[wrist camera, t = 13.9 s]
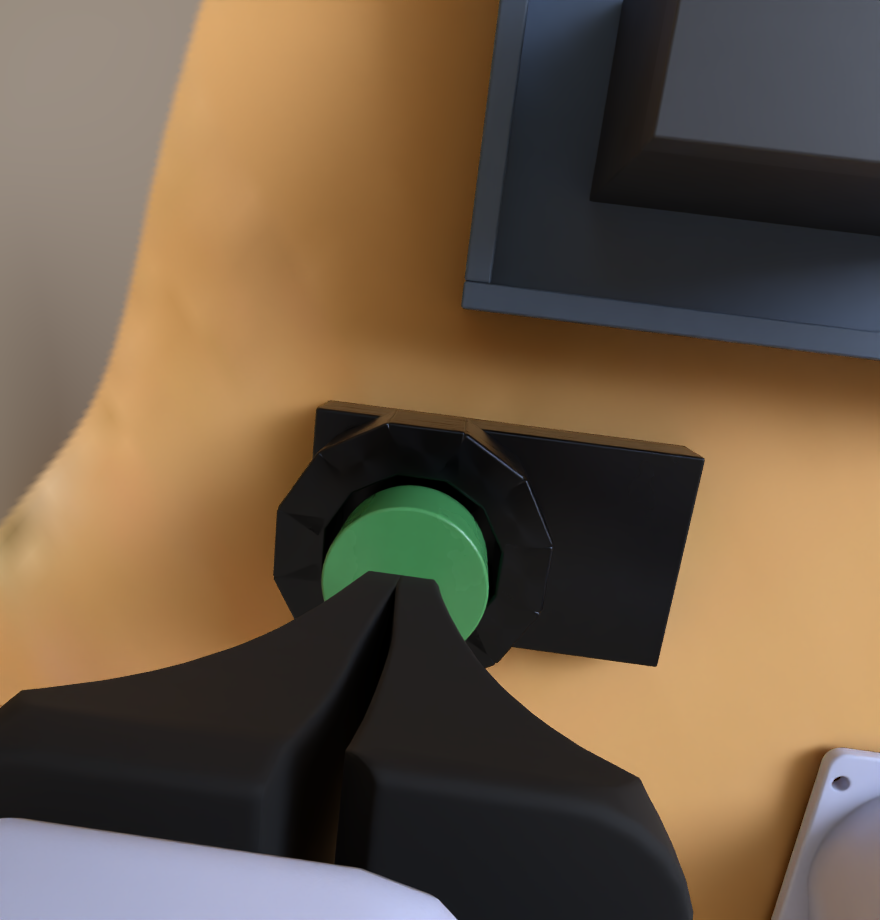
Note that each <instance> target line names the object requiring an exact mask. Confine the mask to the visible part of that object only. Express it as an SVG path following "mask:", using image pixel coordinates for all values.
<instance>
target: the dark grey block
mask: <svg viewBox="0 0 880 920" xmlns="http://www.w3.org/2000/svg"><path fill="white" fill-rule="evenodd" d="M590 201H592V202H600V203H609V204H617V205H625V206H633V207H642V208H650V209H658V210H667V211H675V212H683V213H692V214H700V215H708V216H716V217H725V218H733V219H741V220H750V221H758V222H766V223H774V224H783V225H791V226H799V227H808V228H816V229H824V230H832V231H841V232H849V233H857V234H866V235H874V236H880V0H623V3H622V9H621V15H620V21H619V27H618V33H617V39H616V45H615V51H614V57H613V63H612V69H611V75H610V80H609V86H608V92H607V98H606V104H605V110H604V116H603V122H602V128H601V134H600V140H599V146H598V152H597V158H596V164H595V169H594V175H593V181H592V187H591V193H590Z"/></svg>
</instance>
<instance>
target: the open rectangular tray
mask: <svg viewBox="0 0 880 920" xmlns="http://www.w3.org/2000/svg"><path fill="white" fill-rule="evenodd" d="M622 3H623V0H500V1H499V9H498V16H497V24H496V32H495V40H494V48H493V56H492V64H491V72H490V80H489V88H488V96H487V104H486V112H485V120H484V128H483V136H482V144H481V152H480V160H479V168H478V176H477V183H476V191H475V199H474V207H473V215H472V223H471V231H470V239H469V247H468V255H467V263H466V271H465V280H466V281H465V282H464V287H463V295H462V303H461V306H462V308H463V309H468V310H476V311H484V312H492V313H500V314H508V315H516V316H524V317H532V318H540V319H548V320H556V321H564V322H572V323H580V324H588V325H596V326H604V327H612V328H620V329H628V330H636V331H644V332H652V333H660V334H668V335H676V336H684V337H692V338H700V339H708V340H716V341H725V342H733V343H741V344H749V345H757V346H765V347H773V348H781V349H789V350H797V351H805V352H813V353H821V354H829V355H837V356H845V357H853V358H861V359H869V360H877V361H880V236H874V235H866V234H857V233H849V232H841V231H832V230H824V229H816V228H808V227H799V226H791V225H783V224H774V223H766V222H758V221H750V220H741V219H733V218H725V217H716V216H708V215H700V214H692V213H683V212H675V211H667V210H658V209H650V208H642V207H633V206H625V205H617V204H609V203H600V202H592V201H590V193H591V187H592V181H593V175H594V169H595V164H596V158H597V152H598V146H599V140H600V134H601V128H602V122H603V116H604V110H605V104H606V98H607V92H608V86H609V80H610V75H611V69H612V63H613V57H614V51H615V45H616V39H617V33H618V27H619V21H620V15H621V9H622Z"/></svg>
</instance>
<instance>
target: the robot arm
mask: <svg viewBox="0 0 880 920" xmlns="http://www.w3.org/2000/svg"><path fill="white" fill-rule="evenodd" d="M837 777H841V778H840V779H839V780H837V781H833V780H834V779H835V778H837ZM0 920H693V909H692V904H691V900H690V895H689V891H688V887H687V882H686V879H685V876H684V874H683V871H682V868H681V866H680V863H679V860H678V858H677V855H676V852H675V850H674V847H673V845H672V842H671V840H670V838H669V836H668V834H667V832H666V830H665V827H664V825H663V823H662V821H661V819H660V817H659V815H658V813H657V811H656V809H655V807H654V806H653V804H652V802H651V800H650V798H649V796H648V794H647V792H646V790H645V788H644V786H643V784H642V781H641V780H640V778H638V777H636V776H635V775H633V774H631V773H629V772H627V771H625V770H623V769H621V768H619V767H618V766H616V765H614V764H612V763H610V762H608V761H606V760H604V759H602V758H601V757H599V756H597V755H595V754H593V753H591V752H589V751H587V750H585V749H584V748H582V747H580V746H579V745H577V744H576V743H574V742H573V741H571V740H570V739H568V738H567V737H565V736H563V735H562V734H560V733H559V732H557V731H556V730H554V729H553V728H551V727H550V726H549V725H547V724H546V723H545V722H543V721H542V720H540V719H539V718H538V717H536V716H535V715H534V714H533V713H531V712H530V711H529V710H528V709H527V708H525V707H524V706H523V705H522V704H521V703H520V702H518V701H517V700H516V699H515V698H514V697H512V696H511V695H510V694H509V693H508V692H507V691H506V690H505V689H504V688H503V687H502V686H501V685H500V684H499V683H498V682H497V681H496V680H495V679H494V678H493V677H492V676H491V675H490V673H489V672H488V671H487V670H486V669H485V668H484V667H483V666H482V665H481V663H480V662H479V661H478V659H477V658H476V657H475V655H474V654H473V652H472V651H471V649H470V648H469V647H468V645H467V644H466V642H465V640H464V639H463V637H462V636H461V634H460V632H459V630H458V629H457V627H456V625H455V623H454V622H453V620H452V618H451V616H450V614H449V612H448V610H447V608H446V605H445V603H444V601H443V598H442V596H441V593H440V589H439V585H438V584H437V583H436V581H435V580H434V579H427V578H419V577H412V576H404V575H397V574H390V573H382V572H375V571H368V572H366V573H365V574H363V575H362V576H360V577H359V578H358V579H356V580H355V581H353V582H352V583H350V584H349V585H348V586H346V587H345V588H343V589H342V590H341V591H339V592H338V593H336V594H335V595H333V596H332V597H331V598H329V599H328V600H326V601H325V602H323V603H322V604H320V605H318V606H317V607H315V608H313V609H311V610H310V611H308V612H306V613H304V614H303V615H301V616H299V617H298V618H296V619H294V620H292V621H291V622H289V623H287V624H285V625H283V626H281V627H279V628H277V629H275V630H273V631H271V632H269V633H267V634H265V635H262V636H260V637H258V638H255V639H253V640H250V641H248V642H246V643H243V644H241V645H238V646H236V647H233V648H230V649H227V650H224V651H221V652H218V653H214V654H211V655H208V656H205V657H202V658H199V659H196V660H193V661H189V662H186V663H183V664H179V665H175V666H171V667H167V668H163V669H158V670H154V671H150V672H145V673H140V674H135V675H130V676H125V677H120V678H114V679H108V680H103V681H95V682H87V683H80V684H72V685H64V686H56V687H49V688H41V689H30V690H22V691H20V692H19V693H18V694H17V695H15V696H14V697H13V698H11V699H10V700H9V701H8V702H7V703H5V704H4V705H3V706H2V707H1V708H0ZM771 920H880V753H878V752H871V751H864V750H857V749H850V748H834V749H832V750H829V751H828V752H827V753H826V754H825V755H824V757H823V759H822V761H821V764H820V767H819V771H818V774H817V777H816V780H815V783H814V786H813V789H812V793H811V796H810V799H809V802H808V805H807V808H806V811H805V815H804V818H803V821H802V824H801V827H800V830H799V833H798V836H797V840H796V843H795V846H794V849H793V852H792V855H791V858H790V862H789V865H788V868H787V871H786V874H785V877H784V880H783V884H782V887H781V890H780V893H779V896H778V899H777V902H776V906H775V909H774V912H773V915H772V918H771Z"/></svg>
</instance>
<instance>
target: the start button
mask: <svg viewBox="0 0 880 920" xmlns="http://www.w3.org/2000/svg"><path fill="white" fill-rule="evenodd" d="M368 571H375V572H382V573H390V574H397V575H404V576H412V577H419V578H427V579H434V580H435V581H436V583H437V584H438V585H439V589H440V593H441V596H442V598H443V601H444V603H445V605H446V608H447V610H448V612H449V614H450V616H451V618H452V620H453V622H454V623H455V625H456V627H457V629H458V630H459V632H460V634H461V636H462V637H463V639H464V640H466V639H467V638H468V637H469V636H470V635H471V634H472V633H473V631H474V630H475V629H476V627H477V626H478V624H479V622H480V620H481V619H482V617H483V614H484V611H485V609H486V605H487V600H488V593H489V581H488V562H487V548H486V543H485V539H484V536H483V533H482V531H481V529H480V527H479V525H478V523H477V521H476V520H475V519H474V517H473V516H472V514H471V513H470V512H469V511H468V510H467V509H466V508H465V507H464V506H463V505H462V504H461V503H459V502H458V501H457V500H455V499H454V498H452V497H451V496H449V495H447V494H445V493H443V492H441V491H438V490H435V489H432V488H428V487H423V486H413V485H406V486H397V487H392V488H388V489H385V490H382V491H379V492H377V493H375V494H373V495H371V496H370V497H368V498H367V499H365V500H364V501H363V502H362V503H360V504H359V505H358V506H357V507H356V508H355V509H354V510H353V512H352V513H351V514H350V516H349V517H348V519H347V520H346V522H345V523H344V525H343V527H342V528H341V530H340V531H339V533H338V535H337V536H336V538H335V539H334V541H333V543H332V544H331V546H330V548H329V550H328V552H327V554H326V557H325V560H324V564H323V569H322V575H321V586H322V594H323V598H324V602H325V601H326V600H328V599H329V598H331V597H332V596H333V595H335V594H336V593H338V592H339V591H341V590H342V589H343V588H345V587H346V586H348V585H349V584H350V583H352V582H353V581H355V580H356V579H358V578H359V577H360V576H362V575H363V574H365V573H366V572H368Z"/></svg>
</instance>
